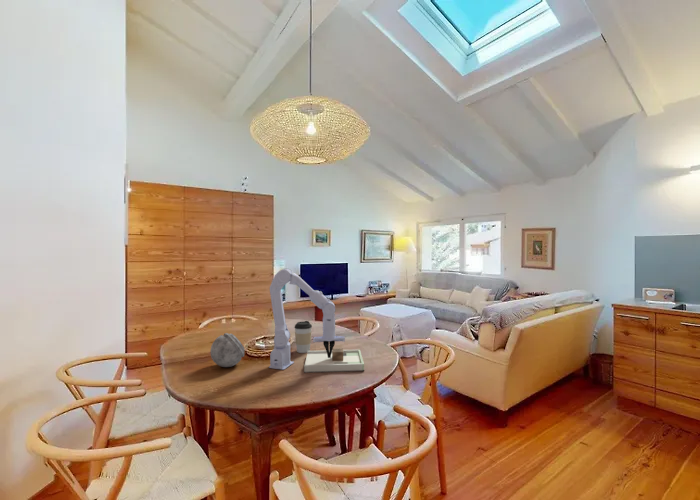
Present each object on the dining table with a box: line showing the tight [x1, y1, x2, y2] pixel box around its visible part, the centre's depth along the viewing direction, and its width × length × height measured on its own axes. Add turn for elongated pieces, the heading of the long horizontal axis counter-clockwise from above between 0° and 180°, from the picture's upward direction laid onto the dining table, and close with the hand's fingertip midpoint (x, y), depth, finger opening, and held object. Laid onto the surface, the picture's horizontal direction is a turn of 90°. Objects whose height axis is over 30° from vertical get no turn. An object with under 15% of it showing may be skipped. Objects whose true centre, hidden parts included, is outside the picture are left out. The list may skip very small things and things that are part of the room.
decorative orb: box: [210, 332, 246, 368], centre depth 146 cm, size 15×14×15 cm
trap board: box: [303, 349, 365, 374], centre depth 149 cm, size 26×20×3 cm
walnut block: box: [332, 348, 344, 361], centre depth 149 cm, size 5×5×4 cm
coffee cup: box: [293, 320, 313, 354], centre depth 167 cm, size 9×9×15 cm
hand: (329, 357), depth 149 cm, fingers closed
